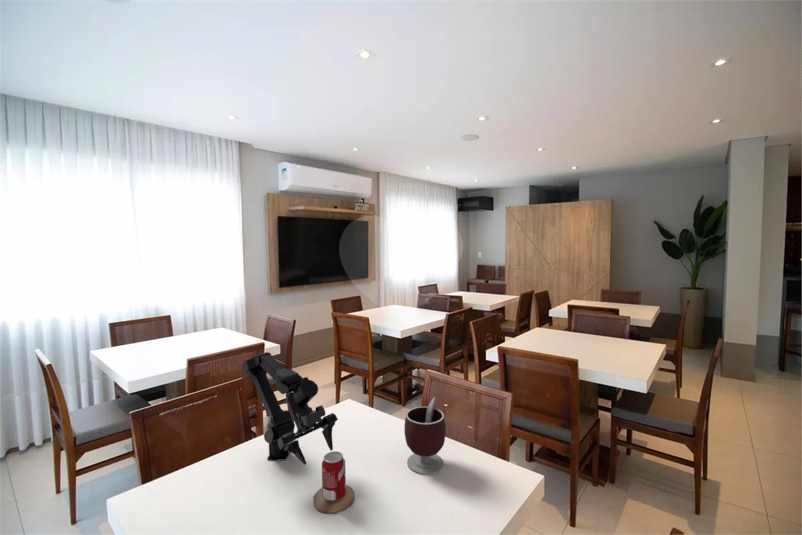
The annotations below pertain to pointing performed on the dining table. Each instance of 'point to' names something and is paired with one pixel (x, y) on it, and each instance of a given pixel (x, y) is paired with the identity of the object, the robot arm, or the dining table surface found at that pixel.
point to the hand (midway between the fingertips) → (319, 457)
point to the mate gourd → (425, 438)
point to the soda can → (333, 477)
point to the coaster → (335, 506)
